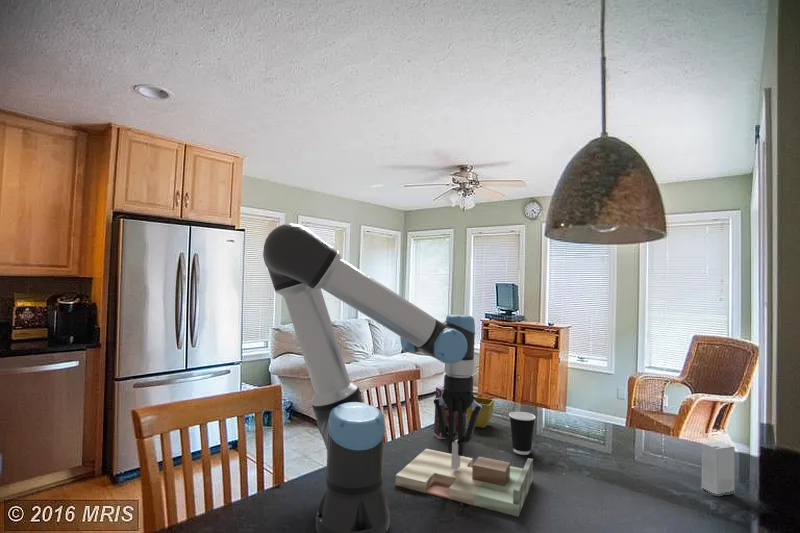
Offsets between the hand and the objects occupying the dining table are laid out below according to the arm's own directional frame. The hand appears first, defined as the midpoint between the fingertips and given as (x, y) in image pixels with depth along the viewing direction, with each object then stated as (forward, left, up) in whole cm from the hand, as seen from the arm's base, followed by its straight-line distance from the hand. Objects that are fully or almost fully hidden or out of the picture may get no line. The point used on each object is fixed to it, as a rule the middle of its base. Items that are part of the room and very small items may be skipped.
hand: (455, 467), depth 110 cm
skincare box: (+27, -60, -4) cm, 66 cm away
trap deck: (0, -3, -4) cm, 4 cm away
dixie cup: (+29, -12, -4) cm, 32 cm away
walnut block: (0, -9, -1) cm, 9 cm away
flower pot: (+47, +6, -4) cm, 48 cm away
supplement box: (+30, +12, -4) cm, 33 cm away
